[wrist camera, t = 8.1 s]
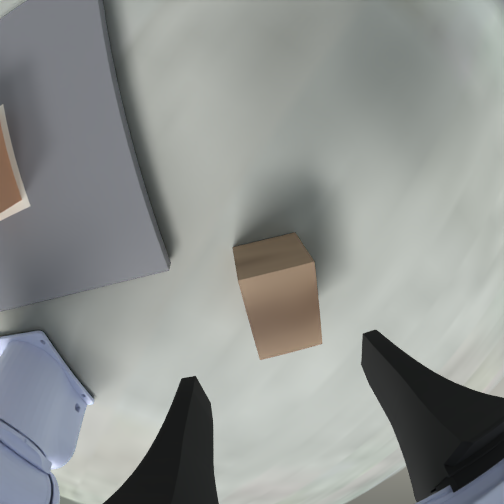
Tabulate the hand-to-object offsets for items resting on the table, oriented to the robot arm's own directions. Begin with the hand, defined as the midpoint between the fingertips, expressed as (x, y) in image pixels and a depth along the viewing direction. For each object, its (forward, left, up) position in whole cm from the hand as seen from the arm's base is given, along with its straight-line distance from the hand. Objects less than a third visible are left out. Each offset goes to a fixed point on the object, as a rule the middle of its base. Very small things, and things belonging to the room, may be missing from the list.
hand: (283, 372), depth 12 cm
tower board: (+12, +15, -9) cm, 21 cm away
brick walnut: (-1, -1, -9) cm, 9 cm away
